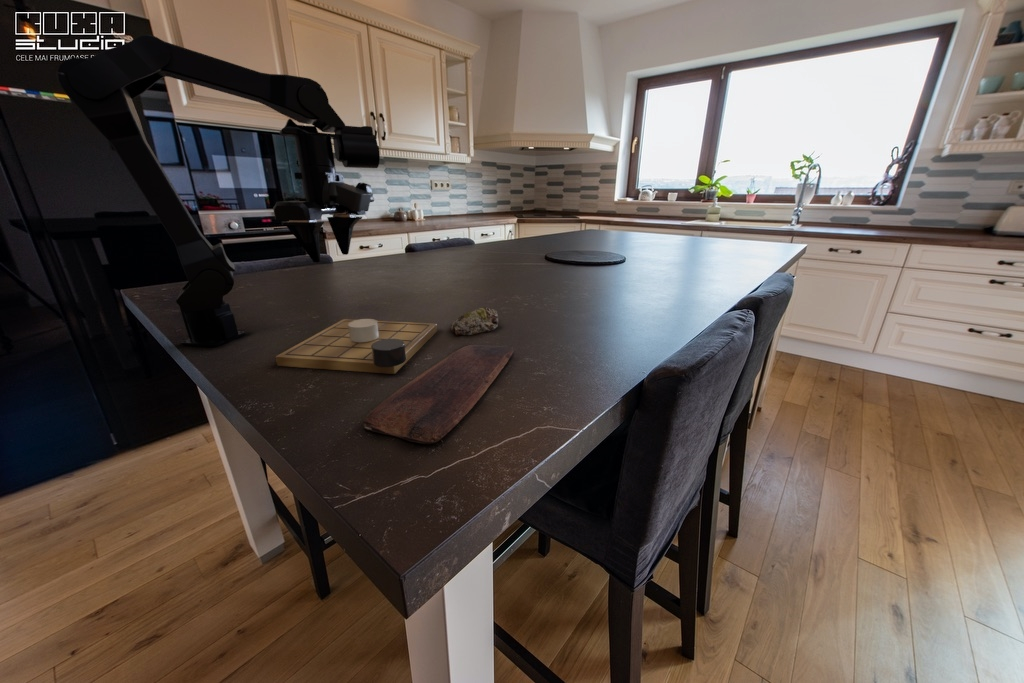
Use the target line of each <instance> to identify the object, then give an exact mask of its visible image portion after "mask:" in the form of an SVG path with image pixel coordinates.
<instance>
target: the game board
mask: <svg viewBox="0 0 1024 683" xmlns="http://www.w3.org/2000/svg"><path fill="white" fill-rule="evenodd" d="M355 320H356V319H350V318H343V319H341V320H340V321H338V322H336V323H334V324H332V325H330V326H329V327H326V328H325V329H323V330H321V331H319V332H317V333H316V334H314V335H312V336H310V337H309V338H306V339H305V340H304V341H301V342H300V343H299V342H298V344H296V345H294V346H292V347H290V348H288V349H286V350H285V351H283V352H281V353H280V354H278V355H276V356H275V362H276V365H277V367H286V368H287V367H289V368H301V369H302V368H303V369H314V370H315V369H318V370H330V371H344V372H346V371H347V372H358V373H359V372H360V373H373V374H388V375H395V374H397V373H398V371H400V369H401V368H402V367H403V366H404V365H406V364H407V363H408V361H410V359H411V358H412V357H413V356H415V355H416V354H417V352H418V351H419V350H421V349H422V347H423V346H425V344H426V343H427V342H428V341H429V340H430V339H432V337H433V336H434V335H436V333H438V324H437V323H430V322H429V323H428V322H426V323H425V322H409V321H390V320H389V321H388V320H376V321H377V323H378V331H379V337H378V338H377V339H375V340H373V341H369V342H353V341H351V340H350V335H349V328H348V324H349V323H350V322H352V321H355ZM383 339H400V340H402V341H404V343H405V353H406V360H405V362H404V363H402V364H400V365H397V366H392V367H379V366H376V365H375V364H374V363H373V357H372V350H371V345H372V344H373V343H374V342H376V341H379V340H383Z"/></svg>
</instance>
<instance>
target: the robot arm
mask: <svg viewBox="0 0 1024 683" xmlns="http://www.w3.org/2000/svg"><path fill="white" fill-rule="evenodd" d="M165 77H167V78H171V79H175V80H179V81H182V82H185V83H189V84H193V85H196V86H200V87H203V88H208V89H211V90H214V91H218V92H221V93H225V94H227V95H230V96H236V97H239V98H242V99H246V100H249V101H251V102H256V103H259V104H261V105H264V106H265V107H268V108H270V109H272V110H274V111H276V112H277V113H279V114H281V115H283V116H285V117H288V119H287V121H286V123H285V126H284V127H283V128H282V129H280V131H279V135H280V136H281V137H292V138H293V141H294V147H295V152H296V159H297V164H298V170H299V172H294V173H293V174H294V179H295V180H300V181H301V186H302V192H303V197H301V198H298V201H291V200H290V201H276V202H275V205H274V206H273V207H272V209H273V214H274V219H275V221H281V225H282V226H286V228H287V229H288V230H289V232H291V234H292V235H293V236H294V237H295V239H296V240H297V242H299V244H300V245H301V247H302V248H303V249H304V251H305V252H306V254H307V255H308V256H309V258H310V259H311V260H312V262H313V263H320V262H321V247H320V234H319V231H320V230H321V229H322V227H323V225H324V224H325V220H323V221H321V220H322V216H323V215H330V216H327V217H326V218H327V221H328V223H329V226H330V228H331V230H332V234H333V236H334V239H335V241H336V244H337V246H338V248H339V251H340V252H341V254H342V255H346V256H347V255H349V252H350V248H351V247H350V246H351V240H352V235H353V231H354V227H355V225H356V224H357V223H358V222H359V221H360V220H362V219H363V216H364V215H366V212H369V210H370V203H374V201H375V198H374V193H373V189H372V186H371V184H368V183H366V182H358V183H357V184H356V185H354V184H348V183H347V182H346V183H345V180H344V175H342V173H338V172H337V169H336V162H335V160H336V161H338V162H340V163H342V165H343V167H344V168H353V169H354V168H357V169H378V168H379V165H380V161H381V160H380V159H381V156H380V155H381V153H380V146H379V145H378V140H377V139H376V136H375V134H374V129H373V127H372V126H371V125H370V126H369V125H363V126H354V125H346V123H345V122H344V121H343V120H342V118H341V117H340V115H338V113H337V112H336V111H335V109H334V107H332V106H331V104H330V100H329V97H328V95H327V92H326V91H325V90H324V88H323V87H322V85H321V84H320V83H318V81H316V80H314V79H312V78H308V77H304V76H298V75H291V74H279V73H266V72H260V71H257V70H254V69H251V68H248V67H245V66H243V65H238V64H236V63H232V62H229V61H226V60H223V59H220V58H217V57H214V56H211V55H209V54H204V53H201V52H198V51H196V50H192V49H189V48H186V47H183V46H180V45H177V44H174V43H170V42H169V41H168V42H167V41H165V40H163V39H161V38H159V37H157V36H155V35H152V34H146V33H144V34H140V35H138V36H137V37H135V38H133V39H132V40H130V41H128V42H127V43H124V44H120V45H116V46H115V47H111V48H109V49H108V48H107V49H105V50H103V51H100V52H99V53H97V54H95V55H93V56H91V57H90V58H85V57H72V58H69V59H65V60H64V61H63V62H62V63H61V64H59V67H58V69H57V72H56V79H57V80H56V81H57V83H58V84H59V86H60V88H61V90H62V91H63V92H64V94H65V95H66V96H67V97H68V98H69V100H70V101H71V102H72V103H73V104H74V105H75V107H76V108H78V110H79V111H80V112H81V114H82V115H83V116H84V117H85V118H86V119H87V121H89V122H90V123H91V124H92V125H93V127H95V129H97V131H98V132H99V133H100V134H101V135H102V137H104V138H105V139H106V140H107V141H108V142H109V144H110V145H111V146H112V148H113V150H114V151H115V152H116V155H117V156H118V157H119V158H120V160H121V162H122V163H123V165H124V166H125V168H126V169H127V171H128V173H129V174H130V176H131V177H132V179H133V181H134V182H135V184H136V186H137V187H138V189H139V190H140V191H141V193H142V195H143V196H144V198H145V199H146V201H147V203H148V205H149V206H150V207H151V209H152V211H153V212H154V214H155V215H156V217H157V218H158V220H159V222H160V223H161V225H162V226H163V228H164V229H165V231H166V233H167V234H168V236H169V237H170V239H171V241H172V242H173V243H174V246H175V249H176V252H177V255H178V258H179V261H180V264H181V268H182V269H183V272H184V275H185V277H186V279H187V282H186V284H185V285H184V286H183V287H182V288H181V289H180V291H179V293H178V296H177V298H176V300H175V303H176V304H177V305H178V307H179V310H180V314H181V317H182V320H183V322H184V327H185V329H186V332H187V336H188V338H187V339H184V340H182V341H180V344H181V346H191V347H192V346H193V347H209V348H216V347H218V346H221V345H223V344H225V343H228V342H230V341H233V340H234V339H237V338H239V337H241V336H245V335H246V333H245V331H244V330H238V327H237V324H236V323H237V322H236V320H235V315H234V313H233V311H232V309H231V306H230V302H226V301H225V300H223V299H224V296H226V295H228V294H229V293H230V292H231V291H232V289H233V287H234V285H235V278H234V272H236V268H235V267H236V266H235V264H234V262H232V261H231V260H230V259H229V257H228V256H227V254H226V251H225V249H224V245H223V243H222V242H218V243H217V244H214V245H212V244H211V242H210V241H209V240H208V239H207V238H206V236H204V235H203V233H202V232H201V230H200V229H199V226H197V224H196V222H195V219H194V218H193V217H192V215H191V213H190V212H189V210H188V208H187V207H186V204H185V203H184V201H183V200H182V198H181V197H180V195H179V193H178V191H177V190H176V188H175V186H174V185H173V183H172V182H171V179H170V178H169V176H168V175H167V173H166V171H165V170H164V168H163V166H162V164H161V163H160V161H159V160H158V158H157V156H156V155H155V153H154V150H152V148H151V146H150V144H149V143H148V141H147V139H146V138H147V137H146V135H145V132H144V129H143V126H142V123H141V119H140V117H139V114H138V112H137V109H136V107H135V104H134V101H133V100H134V99H135V98H138V97H139V96H141V95H142V94H144V93H145V92H147V90H149V89H150V88H152V87H153V86H154V85H155V84H156V83H158V82H159V81H161V80H162V79H164V78H165ZM294 121H297V123H301V124H297V123H296V122H294ZM302 124H303V125H302ZM318 130H319V131H320V132H319V131H318ZM332 141H333V142H332ZM334 156H335V157H334ZM319 220H320V221H319Z"/></svg>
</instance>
